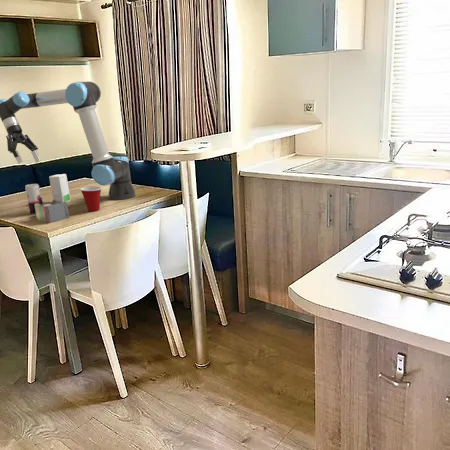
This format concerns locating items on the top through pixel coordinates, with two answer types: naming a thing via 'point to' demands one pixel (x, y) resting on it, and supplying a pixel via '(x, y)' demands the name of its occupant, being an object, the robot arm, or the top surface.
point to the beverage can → (32, 196)
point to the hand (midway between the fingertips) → (29, 162)
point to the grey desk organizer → (52, 211)
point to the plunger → (42, 202)
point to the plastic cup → (92, 198)
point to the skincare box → (60, 187)
